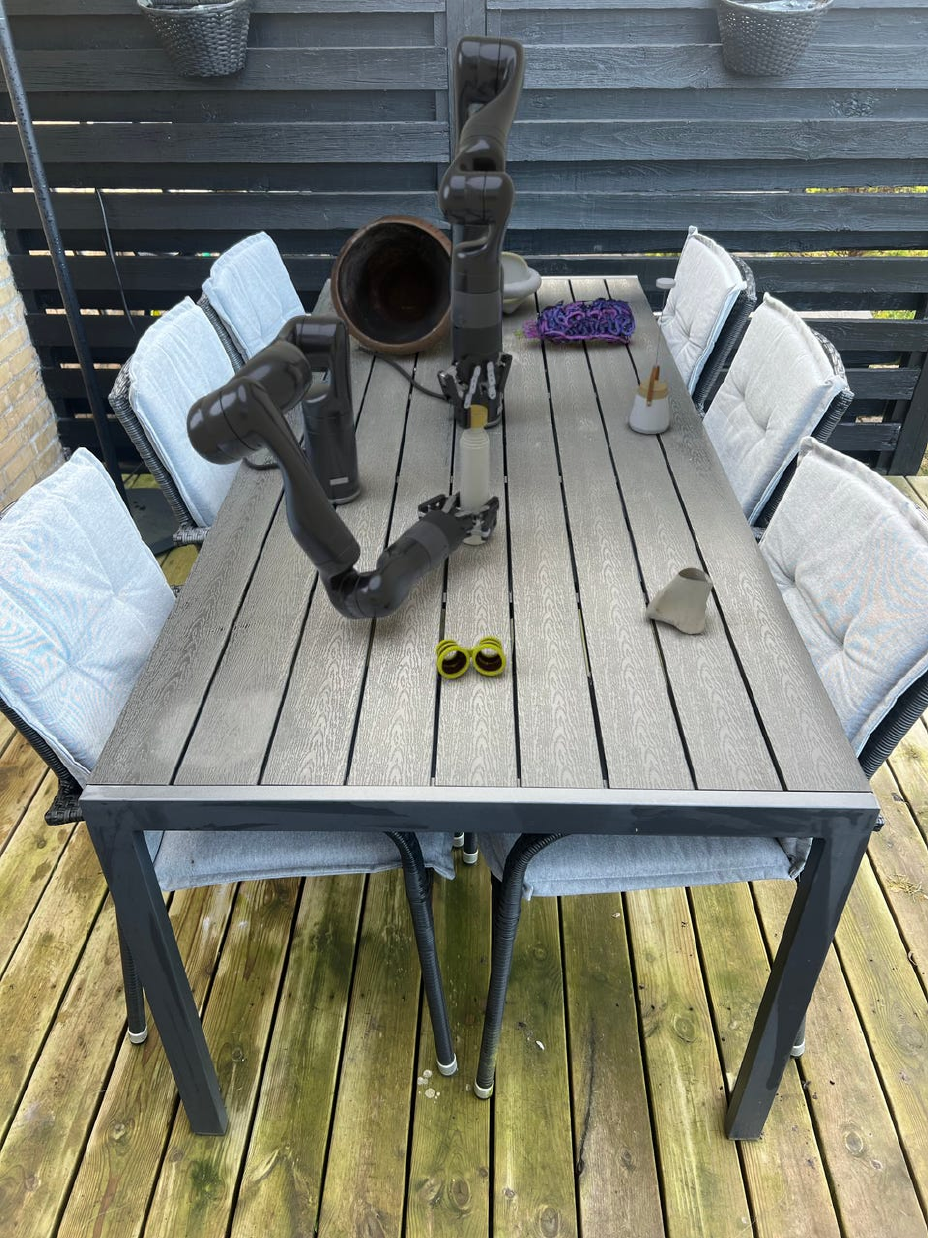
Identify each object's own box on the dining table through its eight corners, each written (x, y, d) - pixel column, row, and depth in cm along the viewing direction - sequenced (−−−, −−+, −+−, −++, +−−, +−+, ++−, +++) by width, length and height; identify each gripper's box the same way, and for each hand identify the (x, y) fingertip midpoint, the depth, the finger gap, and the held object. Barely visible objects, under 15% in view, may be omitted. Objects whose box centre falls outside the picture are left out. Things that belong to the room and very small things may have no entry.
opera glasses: (501, 660, 136) (501, 629, 134) (506, 678, 131) (506, 646, 129) (435, 664, 136) (434, 634, 133) (438, 682, 131) (436, 651, 129)
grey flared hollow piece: (698, 626, 144) (712, 564, 142) (708, 640, 137) (723, 575, 134) (641, 618, 144) (654, 555, 142) (648, 632, 137) (662, 566, 134)
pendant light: (664, 436, 191) (684, 289, 173) (625, 431, 193) (640, 285, 175) (671, 420, 197) (691, 276, 179) (633, 414, 199) (649, 272, 181)
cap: (458, 425, 148) (458, 412, 146) (468, 415, 151) (468, 403, 149) (481, 429, 146) (481, 417, 145) (491, 419, 149) (491, 407, 148)
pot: (366, 206, 239) (363, 182, 210) (477, 263, 245) (489, 246, 216) (317, 325, 245) (307, 317, 216) (426, 378, 251) (431, 377, 222)
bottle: (487, 529, 164) (489, 405, 150) (489, 544, 160) (491, 419, 146) (459, 530, 164) (458, 406, 149) (461, 545, 160) (460, 420, 145)
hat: (455, 295, 261) (454, 240, 252) (532, 292, 263) (534, 237, 254) (465, 327, 242) (464, 268, 233) (548, 323, 244) (550, 264, 235)
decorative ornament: (642, 323, 223) (518, 325, 220) (633, 359, 231) (514, 362, 228) (631, 290, 230) (511, 291, 228) (623, 326, 239) (508, 328, 236)
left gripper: (466, 535, 143) (519, 488, 154) (390, 510, 149) (447, 466, 160) (466, 575, 147) (518, 526, 159) (392, 549, 153) (447, 504, 165)
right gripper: (494, 300, 144) (492, 403, 154) (422, 321, 137) (425, 428, 147) (528, 312, 139) (523, 418, 150) (455, 335, 132) (456, 444, 143)
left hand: (482, 496), depth 159 cm, fingers closed on bottle, 5 cm apart
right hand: (475, 422), depth 148 cm, fingers closed on cap, 4 cm apart
